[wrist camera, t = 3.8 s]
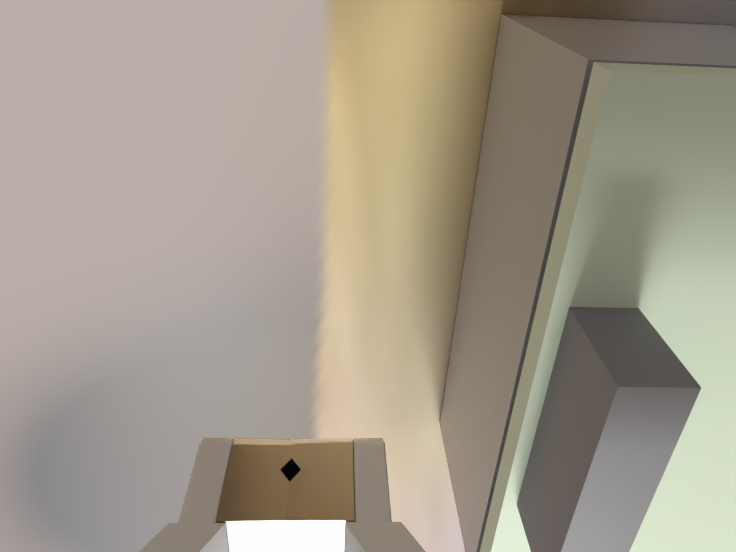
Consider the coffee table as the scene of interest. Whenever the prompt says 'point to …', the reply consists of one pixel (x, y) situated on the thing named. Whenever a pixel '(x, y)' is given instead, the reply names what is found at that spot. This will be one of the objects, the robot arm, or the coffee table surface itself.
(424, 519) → the coffee table surface
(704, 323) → the lid
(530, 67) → the bin
